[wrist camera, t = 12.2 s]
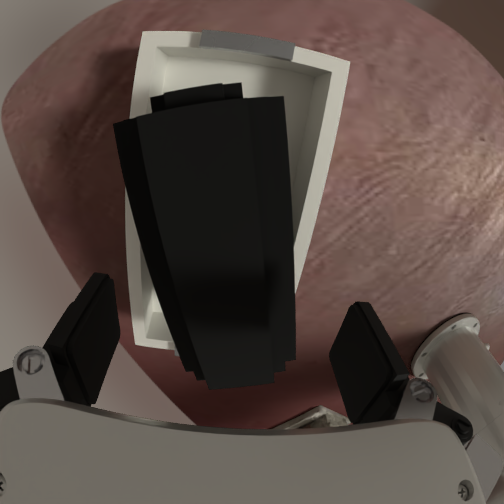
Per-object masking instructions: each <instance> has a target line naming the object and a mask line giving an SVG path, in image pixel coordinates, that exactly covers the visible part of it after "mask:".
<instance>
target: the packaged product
mask: <svg viewBox="0 0 504 504" xmlns="http://www.w3.org/2000/svg"><path fill="white" fill-rule="evenodd" d="M350 423H351V422H350V421H349V418H347V417H345V416H343V415H341V414H339V413H336V412H334V411H332V410H330V409H328V408H326V407H323V406H321V405H320V406H318V407H316V408H314V409H312V410H310V411H309V412H307V413H305V414H303V415H301V416H299V417H297V418H294V419H292V420H290V421H288V422H286V423H284V424H282V425H280V426H277V427H275V428H273V429H308V428H324V427H336V426H346V425H348V424H350Z"/></svg>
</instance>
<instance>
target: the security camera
mask: <svg viewBox="0 0 504 504" xmlns="http://www.w3.org/2000/svg"><path fill="white" fill-rule="evenodd" d="M150 102H151V109H152V113H149V114H145V115H141V116H137V117H135V118H131V119H127V120H124V121H122V122H118V123H114V124H113V127H114V132H115V138H116V144H117V149H118V154H119V159H120V164H121V169H122V173H123V178H124V182H125V187H126V191H127V195H128V199H129V203H130V207H131V211H132V215H133V219H134V223H135V226H136V230H137V234H138V237H139V241H140V244H141V248H142V251H143V254H144V258H145V261H146V264H147V267H148V271H149V274H150V277H151V280H152V283H153V286H154V289H155V292H156V295H157V298H158V301H159V304H160V306H161V309H162V312H163V315H164V317H165V320H166V323H167V326H168V328H169V331H170V334H171V336H172V339H173V341H174V344H175V346H176V349H177V351H178V354H179V356H180V359H181V361H182V364H183V366H184V368H185V371H186V372H190V371H194V374H195V376H196V379H197V380H206V382H207V385H208V388H209V390H211V389H223V388H234V387H244V386H253V385H261V384H269V383H274V373H275V372H282V371H285V361H291V360H296V319H295V269H294V240H293V217H292V198H291V181H290V165H289V151H288V138H287V126H286V114H285V103H284V96H274V97H267V96H266V97H254V98H243V91H242V82H239V83H230V84H223V83H217V84H210V85H203V86H197V87H191V88H185V89H180V90H175V91H170V92H165V93H164V94H163V95H159V96H154V97H150Z"/></svg>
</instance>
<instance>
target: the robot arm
mask: <svg viewBox="0 0 504 504" xmlns="http://www.w3.org/2000/svg"><path fill="white" fill-rule="evenodd" d="M479 329H480V324H479V321H478V319H477V318H476V317H475V316H474V315H472V314H462V315H458V316H456V317H454V318H452V319H450V320H449V321H447V322H445V323H444V324H443V325H441V326H440V327H439V328H437V329H436V330H435V331H434V332H433V333H432V334H431V335H430V336H429V337H428V338H427V339H426V340H425V341H424V342H423V344H422V345H421V346H420V347H419V349H418V350H417V352H416V354H415V356H414V357H413V360H412V363H411V369H412V372H413V374H414V375H415V377H416V378H413V379H411V380H409V378H408V375H409V372H408V370H407V368H406V366H405V364H404V362H403V360H402V359H401V357H400V355H399V353H398V351H397V349H396V348H395V346H394V344H393V342H392V340H391V339H390V337H389V335H388V333H387V332H386V330H385V328H384V326H383V325H382V323H381V321H380V319H379V318H378V316H377V314H376V313H375V311H374V309H373V308H372V306H371V304H370V303H369V302H355V303H354V304H353V305H351V306H350V307H349V309H348V312H347V314H346V316H345V319H344V321H343V323H342V326H341V328H340V330H339V332H338V335H337V337H336V339H335V341H334V343H333V345H332V348H331V350H330V353H329V358H330V362H331V365H332V368H333V371H334V374H335V377H336V380H337V383H338V386H339V389H340V393H341V396H342V399H343V402H344V405H345V409H346V412H347V415H348V418H349V421H350V422H351V423H353V425H346V426H336V427H324V428H308V429H233V428H218V427H206V426H196V425H187V424H178V423H171V422H164V421H158V420H152V419H146V418H140V417H135V416H130V415H125V414H120V413H116V412H111V411H107V410H102V409H98V408H94V407H91V404H95V403H96V401H97V398H98V395H99V392H100V390H101V386H102V384H103V381H104V378H105V375H106V373H107V370H108V367H109V365H110V362H111V359H112V357H113V354H114V351H115V349H116V346H117V344H118V341H119V339H120V326H119V319H118V313H117V305H116V298H115V289H114V281H113V279H110V277H109V275H108V274H102V273H96V272H95V273H94V274H93V275H92V276H91V277H90V279H89V280H88V282H87V283H86V285H85V286H84V287H83V289H82V290H81V292H80V293H79V295H78V296H77V298H76V299H75V301H74V302H72V303H71V304H70V305H69V306H68V308H67V309H66V311H65V312H64V314H63V315H62V317H61V319H60V320H59V322H58V323H57V325H56V326H55V328H54V330H53V331H52V333H51V334H50V336H49V338H48V339H47V341H46V343H45V344H44V346H43V348H41V347H39V346H27V347H25V348H23V349H21V350H20V351H19V352H18V353H17V354H16V355H15V357H14V360H13V367H12V368H9V369H7V370H4V371H2V372H0V504H504V371H503V370H502V368H501V367H500V365H499V364H498V363H497V361H496V360H495V358H494V357H493V356H492V354H491V353H490V352H489V344H488V343H484V344H483V342H482V341H481V340H480V338H479V337H478V333H479ZM425 379H429V381H430V382H428V381H427V380H425ZM437 395H438V397H439V399H440V401H441V403H442V404H441V403H439V402H437Z"/></svg>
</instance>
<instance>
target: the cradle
mask: <svg viewBox="0 0 504 504" xmlns="http://www.w3.org/2000/svg"><path fill="white" fill-rule="evenodd" d="M349 67H350V62H349V61H346V60H343V59H339V58H336V57H333V56H330V55H326V54H323V53H319V52H315V51H312V50H308V49H304V48H300V47H296V46H295V43H291V42H286V41H281V40H276V39H271V38H266V37H260V36H254V35H248V34H240V33H233V32H224V31H213V30H202V32H183V31H144V32H143V34H142V38H141V43H140V49H139V54H138V59H137V65H136V71H135V78H134V85H133V92H132V100H131V109H130V118H129V119H131V118H135V117H137V116H141V115H145V114H149V113H152V109H151V102H150V97H154V96H159V95H163V94H164V93H165V92H170V91H175V90H180V89H185V88H191V87H197V86H203V85H210V84H217V83H223V84H230V83H239V82H242V91H243V98H254V97H266V96H267V97H274V96H284V103H285V114H286V126H287V138H288V151H289V165H290V181H291V198H292V217H293V240H294V269H295V293H296V290H297V286H298V283H299V280H300V276H301V273H302V269H303V266H304V262H305V259H306V255H307V251H308V248H309V244H310V240H311V237H312V233H313V229H314V225H315V222H316V218H317V214H318V210H319V206H320V202H321V198H322V194H323V190H324V186H325V182H326V178H327V173H328V169H329V165H330V160H331V156H332V152H333V147H334V143H335V138H336V133H337V129H338V124H339V119H340V114H341V109H342V104H343V99H344V94H345V89H346V83H347V78H348V72H349ZM125 229H126V255H127V272H128V285H129V296H130V306H131V315H132V323H133V331H134V338H135V345H141V346H147V347H155V348H162V349H170V350H175V356H179V354H178V351H177V349H176V346H175V344H174V341H173V339H172V336H171V334H170V331H169V328H168V326H167V323H166V320H165V317H164V315H163V312H162V309H161V306H160V304H159V301H158V298H157V295H156V292H155V289H154V286H153V283H152V280H151V277H150V274H149V271H148V267H147V264H146V261H145V258H144V254H143V251H142V248H141V244H140V241H139V237H138V234H137V230H136V226H135V223H134V219H133V215H132V211H131V207H130V203H129V199H128V195H127V191H126V187H125Z"/></svg>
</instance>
